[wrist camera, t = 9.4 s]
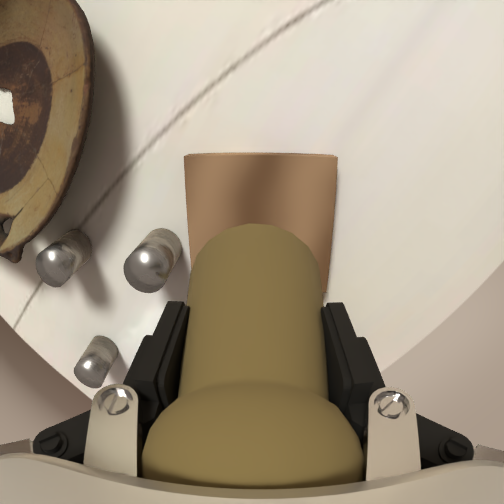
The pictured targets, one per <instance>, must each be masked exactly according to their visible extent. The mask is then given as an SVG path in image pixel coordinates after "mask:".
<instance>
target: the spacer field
mask: <svg viewBox="0 0 504 504" xmlns="http://www.w3.org/2000/svg"><path fill="white" fill-rule="evenodd" d="M181 250H182V247H181V242H180V240H179V238H178V237H177V235H176V234H175V233H173V232H172V231H170V230H168V229H164V228H159V229H155V230H153V231H151V232H150V233H149V234H148V235H147V236H146V237H145V239H144V240H143V241H142V242H141V243H140V244H139V245H138V246H137V248H136V249H135V250H134V251H133V252H132V253H131V254H130V255H129V257H128V258H127V259H126V261H125V263H124V275H125V277H126V279H127V281H128V282H129V284H130V285H131V286H132V287H133V288H135V289H136V290H138V291H141V292H144V293H153V292H156V291H158V290H160V289H161V288H162V287H163V285H164V284H165V282H166V280H167V278H168V276H169V274H170V273H171V271H172V269H173V267H174V265H175V264H176V262H177V260H178V258H179V256H180V254H181ZM91 255H92V245H91V242H90V240H89V238H88V237H87V236H86V235H85V234H84V233H83V232H81V231H79V230H71V231H69V232H68V233H66V234H65V235H64V236H62V237H61V238H59V239H58V240H57V241H55V242H54V243H52V244H51V245H50V246H48V247H47V248H46V249H44V250H43V251H42V252H40V253H39V254H38V256H37V258H36V269H37V272H38V274H39V276H40V277H41V279H42V280H43V281H44V282H45V283H46V284H48V285H50V286H52V287H60V286H62V285H63V284H64V283H65V282H66V281H67V280H68V279H69V278H70V277H71V276H72V275H73V274H74V273H75V272H76V271H77V270H78V269H79V268H80V267H81V266H82V265H83V264H84V263H85V262H86V261H87V260H89V258H90V257H91ZM117 355H118V349H117V346H116V345H115V344H114V342H113V341H111V340H110V339H109V338H107V337H104V336H95V337H94V338H93V339H92V341H91V342H90V344H89V346H88V347H87V349H86V350H85V352H84V353H83V355H82V356H81V358H80V360H79V361H78V363H77V364H76V366H75V368H74V374H75V376H76V377H77V379H78V380H79V381H80V382H81V383H83V384H84V385H86V386H88V387H91V388H100V387H101V386H102V384H103V382H104V380H105V378H106V376H107V374H108V372H109V370H110V368H111V366H112V364H113V362H114V360H115V358H116V356H117Z"/></svg>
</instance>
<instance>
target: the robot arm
mask: <svg viewBox="0 0 504 504" xmlns="http://www.w3.org/2000/svg"><path fill="white" fill-rule="evenodd" d="M189 311H190V307H189V306H185V304H184V302H177V301H168V302H167V304H166V307H165V309H164V311H163V313H162V315H161V318H160V320H159V322H158V324H157V327H156V329H155V331H154V333H153V335H146V336H145V337H144V338H143V340H142V342H141V345H140V347H139V349H138V351H137V353H136V355H135V358H134V360H133V362H132V364H131V367H130V369H129V371H128V373H127V375H126V378H125V380H124V382H123V384H113V385H108V386H106V387H104V388H102V389H101V390H99V391H98V392H97V393H96V395H95V396H94V398H93V401H92V407H91V410H89V411H87V412H84V413H82V414H80V415H78V416H75V417H73V418H71V419H68V420H66V421H64V422H61V423H59V424H56V425H54V426H52V427H49V428H47V429H45V430H43V431H41V432H40V433H39V434H38V435H37V436H36V438H35V439H34V441H31V440H30V439H25V440H20V441H16V442H11V443H7V444H2V445H0V504H504V451H502V450H497V449H494V448H489V447H486V446H482V445H477V446H476V447H473V446H472V443H471V442H470V441H469V440H468V438H466V437H465V436H463V435H462V434H460V433H457V432H455V431H453V430H450V429H448V428H446V427H444V426H442V425H440V424H438V423H435V422H433V421H431V420H429V419H427V418H425V417H423V416H421V415H419V414H416V411H415V404H414V401H413V399H412V398H411V396H410V395H409V394H408V393H406V392H405V391H403V390H401V389H398V388H394V387H385V384H384V381H383V379H382V376H381V374H380V371H379V369H378V366H377V364H376V361H375V359H374V356H373V354H372V352H371V349H370V347H369V344H368V342H367V340H366V338H365V337H357V336H356V334H355V331H354V329H353V326H352V324H351V321H350V319H349V316H348V314H347V311H346V309H345V306H344V304H343V303H342V302H341V303H327V305H326V307H321V317H322V323H323V328H324V337H325V348H326V358H327V370H328V385H329V402H331V403H333V404H335V405H336V406H337V407H338V408H339V410H340V411H341V412H342V414H343V415H344V416H345V417H346V419H347V420H348V421H349V423H350V425H351V426H352V428H353V429H354V431H355V432H356V434H357V436H358V437H359V440H360V444H361V448H362V452H363V455H364V466H363V477H362V482H356V483H349V484H342V485H333V486H323V487H311V488H295V489H229V488H213V487H201V486H191V485H183V484H175V483H168V482H161V481H155V480H149V479H143V478H142V466H141V456H142V453H143V449H144V446H145V443H146V440H147V436H148V433H149V430H150V428H151V427H152V425H153V424H154V422H155V421H156V419H157V418H158V417H159V415H160V414H161V412H162V411H163V410H165V409H166V408H167V407H168V406H169V405H171V404H172V403H173V402H174V401H175V400H176V399H178V389H179V377H180V366H181V359H182V353H183V347H184V341H185V335H186V329H187V323H188V317H189Z"/></svg>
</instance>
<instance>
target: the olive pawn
mask: <svg viewBox="0 0 504 504" xmlns="http://www.w3.org/2000/svg"><path fill="white" fill-rule="evenodd" d="M187 306H189V307H190V311H189V317H188V323H187V329H186V335H185V341H184V347H183V353H182V359H181V366H180V377H179V389H178V399H176V400H175V401H174V402H173V403H172V404H171V405H169V406H168V407H167V408H166V409H165V410H163V411H162V412H161V414H160V415H159V417H158V418H157V419H156V421H155V422H154V424H153V425H152V427H151V428H150V430H149V433H148V436H147V440H146V443H145V446H144V449H143V453H142V456H141V466H142V478H143V479H149V480H155V481H161V482H168V483H175V484H183V485H191V486H201V487H213V488H229V489H295V488H311V487H323V486H333V485H342V484H349V483H356V482H362V477H363V466H364V455H363V452H362V448H361V444H360V440H359V437H358V436H357V434H356V432H355V431H354V429H353V428H352V426H351V425H350V423H349V421H348V420H347V419H346V417H345V416H344V415H343V414H342V412H341V411H340V410H339V408H338V407H337V406H336V405H335V404H333V403H331V402H329V385H328V370H327V358H326V348H325V337H324V328H323V323H322V317H321V307H324V306H323V294H322V283H321V276H320V271H319V265H318V262H317V260H316V259H315V257H314V255H313V254H312V252H311V250H310V249H309V247H308V246H307V245H306V244H305V243H304V242H302V241H301V240H300V239H299V238H298V237H296V236H295V235H294V234H293V233H291V232H289V231H286V230H283V229H281V228H278V227H276V226H273V225H265V224H250V223H249V224H245V225H240V226H236V227H232V228H228V229H226V230H224V231H223V232H221V233H220V234H218V235H216V236H215V237H213V238H211V239H210V240H209V241H208V242H207V243H206V244H205V246H204V247H203V248H202V249H201V251H200V252H199V253H198V254H197V256H196V259H195V262H194V264H193V267H192V270H191V274H190V281H189V290H188V298H187Z"/></svg>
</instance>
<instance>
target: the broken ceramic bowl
mask: <svg viewBox="0 0 504 504" xmlns="http://www.w3.org/2000/svg"><path fill="white" fill-rule="evenodd" d="M94 67H95V58H94V44H93V39H92V35H91V30H90V26H89V23H88V21H87V18H86V16H85V14H84V12H83V10H82V9H81V7H80V6H79V4H78V3H77V2H76V0H0V88H6V89H9V90H11V92H12V97H13V99H12V102H13V110H14V115H15V122H14V124H12V125H10V124H5V123H3V122H0V256H2V257H4V258H6V259H8V260H10V261H11V262H13V263H18V262H19V261H20V260H21V258H22V253H23V248H24V246H25V244H26V243H28V242H30V241H31V240H32V239H33V238H34V237H36V236H37V235H38V234H39V233H40V232H41V231H42V229H43V228H44V227H45V226H46V225H47V224H48V223H49V221H50V220H51V219H52V217H53V216H54V214H55V213H56V212H57V210H58V208H59V206H60V205H61V203H62V201H63V199H64V197H65V196H66V193H67V191H68V189H69V186H70V184H71V182H72V180H73V177H74V174H75V172H76V169H77V167H78V164H79V161H80V158H81V154H82V150H83V147H84V143H85V140H86V135H87V131H88V127H89V122H90V117H91V109H92V103H93V90H94V89H93V87H94V72H95V68H94ZM9 218H10V219H13V222H12V225H11V229H10V232H9V235H8V233H7V234H6V233H5V232H4V229H3V223H4V222H5V221H6V220H7V219H9Z"/></svg>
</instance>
